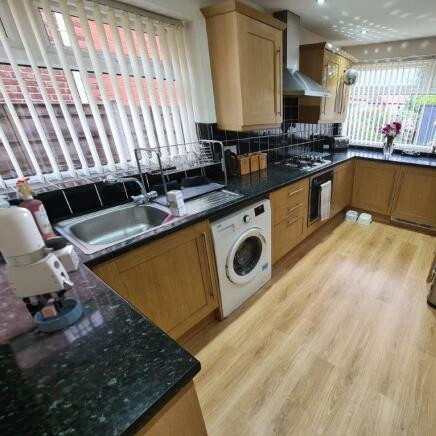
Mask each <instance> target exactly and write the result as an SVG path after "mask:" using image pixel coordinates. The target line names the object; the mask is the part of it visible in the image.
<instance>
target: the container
mask: <svg viewBox="0 0 436 436" xmlns="http://www.w3.org/2000/svg"><path fill="white" fill-rule="evenodd" d="M44 244H45V245H46V246H47V248H53V249H54V252H53V254H54V255H55V256H56V257H57V258H58V260H59V261H60V262H61V264H62V265H63V267H64V269H65V271H66V272H67V273H70V272H73V271H77V270H78V265H79V258H78V255H77V253H76V250H75V248H74V246H73V245H72V244H70V245H68V242H67V240H66V238H65V237H64V236H56V237H52V238H49V239H47V240H45V241H44Z"/></svg>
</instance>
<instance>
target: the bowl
mask: <svg viewBox="0 0 436 436" xmlns="http://www.w3.org/2000/svg"><path fill="white" fill-rule="evenodd" d="M64 300H65V302H66V305H65V307H64V308H63V310H62V311H61V312H59V313H57V314H56V316H51V317H46V318H44V316H42V314H41V312H39V311H37V312H36V313H35V315H34V316H33V322H34V323H35V326H36V327H37V329H38V330H39V331H40V332H41V333H42V332H43V333H53V332H56V331H60V330H63V329H65V328H67V327H69V326H71V325H73V324H74V323H75V322H76V321H77V320H78V319H80V317H81V316H82V314H83V312H84V309H83V306H82V304H81V301H80V300H79V299H78V298H76V297H67V298H64Z"/></svg>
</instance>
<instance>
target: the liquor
mask: <svg viewBox="0 0 436 436" xmlns="http://www.w3.org/2000/svg"><path fill="white" fill-rule="evenodd" d="M16 186H17V188H18V189H19V191H20V192H21V195H22V198H23V201H22V202H20V204H19V205H18V207H20V208H26V209H27V210H29V211H30V212H31V214H32V216H33V219H34V221H35V223H36V226H37V228H38V230H39V232H40V234H41V237H42V239H43V241H45V240H47V239H49V238H52V237H57V235H56V234H55V233H54V231H53V228H52V225H51V223H50V221H49V217H48V215H47V211H46V209H45V207H44V204H43V201H41V200H39V199H34V198H33V196H32V194H31V192H30V190H29V188H28V185H27V182H20V183H16Z"/></svg>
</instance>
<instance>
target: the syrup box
mask: <svg viewBox="0 0 436 436" xmlns="http://www.w3.org/2000/svg"><path fill="white" fill-rule="evenodd" d="M166 195H167V200H168V204H169V208H170V213H171V216H172V217H179V218H180V217H182V216H184V215H185V214H186V208H185V202H184V197H183V193H182V190H177V189H176V190H175V189H173V190H170V191H168V192H166ZM183 213H184V214H183Z"/></svg>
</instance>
